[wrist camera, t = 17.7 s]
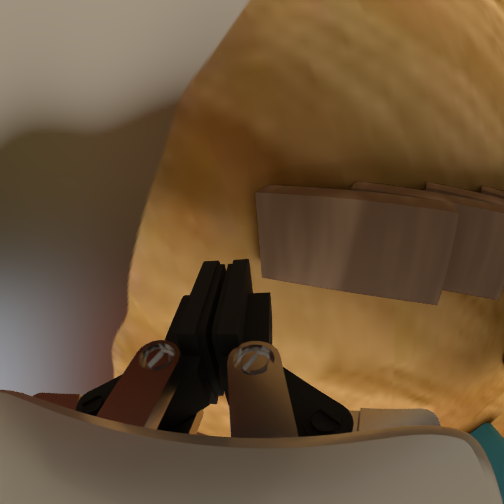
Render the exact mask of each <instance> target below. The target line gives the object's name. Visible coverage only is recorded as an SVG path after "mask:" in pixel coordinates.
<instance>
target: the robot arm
mask: <svg viewBox="0 0 504 504" xmlns="http://www.w3.org/2000/svg"><path fill="white" fill-rule="evenodd" d="M224 391H225V395H226V398H227V402H228V405H229V411H230V428H231V437H217V436H204V435H196V433H197V430H198V428H199V425H200V422H201V420H202V417H203V409H204V408H205V407H207V406H208V405H210V404H217V401H218V396H223V394H224ZM0 504H503V502H502V498H501V494H500V490H499V487H498V483H497V480H496V477H495V474H494V471H493V469H492V466H491V464H490V462H489V459H488V457H487V455H486V453H485V451H484V450H483V448H482V447H481V445H480V444H479V442H478V441H477V440H476V439H475V438H474V437H473V436H472V435H470V434H468V433H467V432H464V431H461V430H458V429H454V428H450V427H442V426H440V422H439V419H438V418H437V416H436V415H435V414H434V413H433V412H431V411H429V410H426V409H369V408H361V409H360V411H349V410H348V409H347V408H345V407H344V406H343V405H341V404H340V403H338V402H337V401H335V400H333V399H332V398H330V397H328V396H327V395H325V394H324V393H322V392H321V391H319V390H317V389H316V388H314V387H313V386H311V385H310V384H308V383H306V382H305V381H303V380H302V379H300V378H299V377H297V376H296V375H294V374H293V373H291V372H290V371H288V370H287V369H285V368H284V367H283V366H282V362H281V357H280V354H279V352H278V350H277V349H276V348H275V347H274V346H273V345H272V310H271V296H270V293H253V290H252V281H251V272H250V264H249V259H242V260H234V261H233V264H228V267H227V270H226V268H225V265H224V264H220V262H219V261H204V262H203V265H202V267H201V269H200V272H199V274H198V277H197V279H196V282H195V284H194V287H193V289H192V292H191V294H190V295H185V296H183V298H182V300H181V302H180V304H179V307H178V309H177V311H176V314H175V316H174V319H173V321H172V323H171V326H170V328H169V331H168V333H167V336H166V338H165V340H157V341H153V342H150V343H148V344H146V345H144V346H143V347H141V348H140V350H139V351H138V352H137V353H136V355H135V356H134V358H133V359H132V361H131V362H130V364H129V365H128V367H127V368H126V370H125V371H124V373H123V374H122V375H120V376H118V377H117V378H115V379H113V380H111V381H109V382H107V383H105V384H103V385H101V386H99V387H97V388H95V389H93V390H91V391H89V392H87V393H86V394H84V395H83V396H81V395H80V394H59V393H37V394H35V395H33V396H30V395H27V394H24V393H20V392H15V391H10V390H0Z"/></svg>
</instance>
